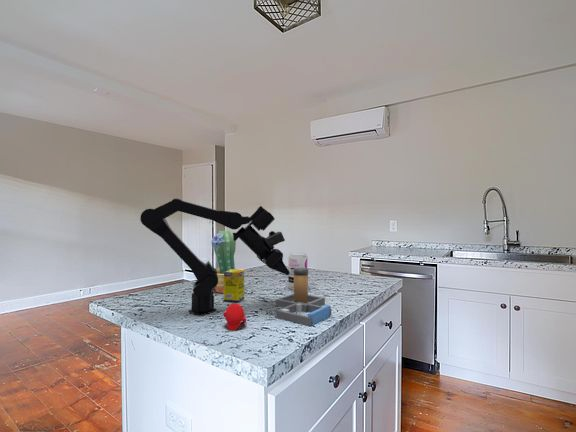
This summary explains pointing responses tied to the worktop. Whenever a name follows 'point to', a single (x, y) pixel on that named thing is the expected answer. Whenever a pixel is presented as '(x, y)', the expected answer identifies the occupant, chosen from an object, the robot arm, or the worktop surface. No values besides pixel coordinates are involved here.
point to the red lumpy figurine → (234, 316)
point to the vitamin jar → (301, 285)
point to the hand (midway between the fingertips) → (285, 271)
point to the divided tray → (303, 310)
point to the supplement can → (295, 266)
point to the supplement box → (233, 285)
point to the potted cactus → (224, 255)
